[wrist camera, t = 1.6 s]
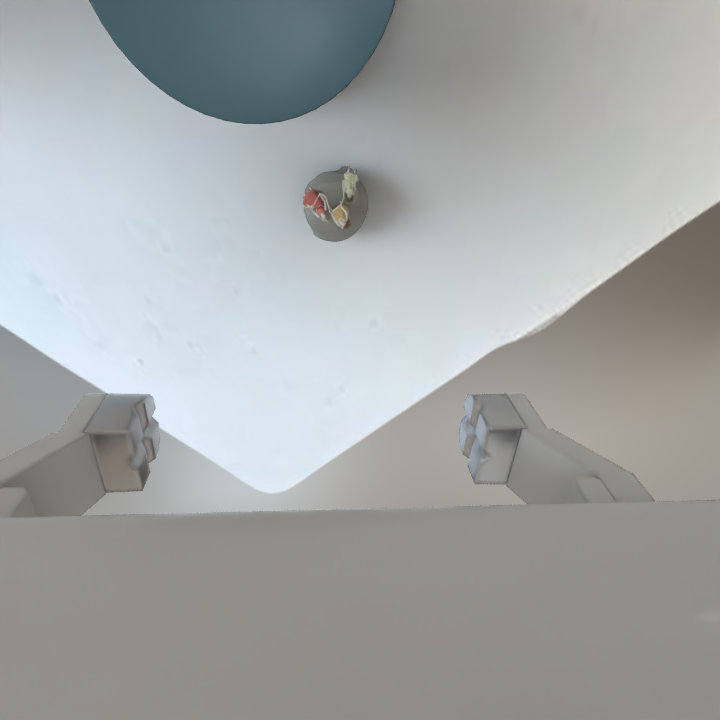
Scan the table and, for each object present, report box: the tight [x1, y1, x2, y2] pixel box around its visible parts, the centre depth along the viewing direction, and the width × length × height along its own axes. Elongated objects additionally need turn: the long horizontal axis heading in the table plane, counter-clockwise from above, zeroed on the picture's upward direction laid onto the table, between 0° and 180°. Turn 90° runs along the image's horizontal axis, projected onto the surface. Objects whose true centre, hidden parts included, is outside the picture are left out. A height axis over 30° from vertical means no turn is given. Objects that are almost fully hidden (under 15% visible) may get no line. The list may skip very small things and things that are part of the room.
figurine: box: [303, 166, 368, 242], centre depth 33 cm, size 5×4×6 cm
